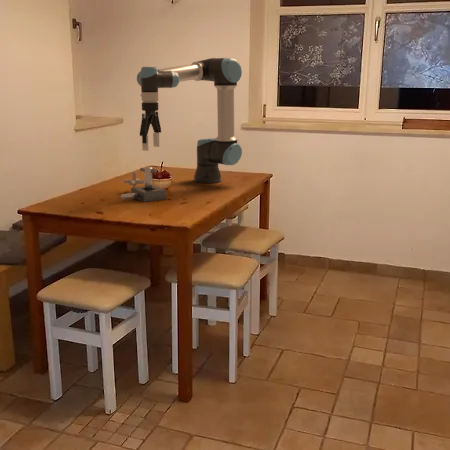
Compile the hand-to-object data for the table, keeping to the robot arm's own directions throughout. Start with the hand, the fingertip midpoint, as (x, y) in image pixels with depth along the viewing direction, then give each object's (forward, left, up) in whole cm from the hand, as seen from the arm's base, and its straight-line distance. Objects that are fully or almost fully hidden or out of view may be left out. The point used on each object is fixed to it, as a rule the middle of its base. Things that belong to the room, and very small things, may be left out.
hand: (151, 148), depth 275 cm
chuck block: (+6, +1, -23) cm, 24 cm away
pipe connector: (0, -16, -23) cm, 28 cm away
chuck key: (+2, +1, -22) cm, 22 cm away
